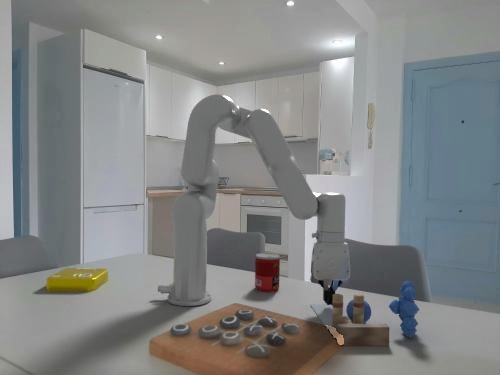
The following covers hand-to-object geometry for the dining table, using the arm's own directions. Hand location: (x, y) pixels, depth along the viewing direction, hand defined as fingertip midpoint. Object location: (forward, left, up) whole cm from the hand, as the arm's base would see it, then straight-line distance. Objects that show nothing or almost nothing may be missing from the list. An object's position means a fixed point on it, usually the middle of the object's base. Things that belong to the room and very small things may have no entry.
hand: (329, 303), depth 106 cm
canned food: (-15, +20, -2) cm, 25 cm away
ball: (+5, -11, +2) cm, 12 cm away
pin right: (+2, -16, -2) cm, 16 cm away
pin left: (-2, -16, -2) cm, 16 cm away
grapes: (+13, -17, -2) cm, 21 cm away
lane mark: (0, -8, -2) cm, 9 cm away
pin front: (0, -13, 0) cm, 13 cm away
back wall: (+1, -23, -2) cm, 23 cm away
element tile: (-76, +24, -2) cm, 80 cm away
